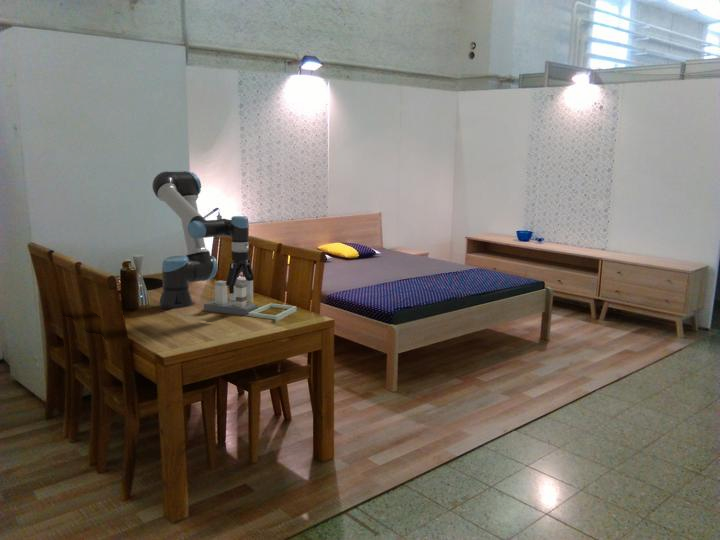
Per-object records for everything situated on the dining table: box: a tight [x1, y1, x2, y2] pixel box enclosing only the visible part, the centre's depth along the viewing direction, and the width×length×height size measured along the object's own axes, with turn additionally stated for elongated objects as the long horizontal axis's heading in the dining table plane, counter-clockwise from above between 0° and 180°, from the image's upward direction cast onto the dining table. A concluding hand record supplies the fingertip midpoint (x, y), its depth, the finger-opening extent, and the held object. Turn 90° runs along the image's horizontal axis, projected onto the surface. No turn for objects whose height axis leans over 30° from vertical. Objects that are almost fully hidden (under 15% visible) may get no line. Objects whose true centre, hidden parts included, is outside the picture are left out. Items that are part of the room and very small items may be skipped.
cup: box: [235, 276, 254, 303], centre depth 298 cm, size 8×8×12 cm
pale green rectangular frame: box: [247, 302, 297, 323], centre depth 276 cm, size 14×20×2 cm
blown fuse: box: [233, 283, 247, 307], centre depth 275 cm, size 4×4×13 cm
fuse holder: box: [203, 299, 258, 317], centre depth 278 cm, size 22×10×4 cm, turn 70°
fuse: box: [214, 280, 228, 305], centre depth 279 cm, size 4×4×13 cm
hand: (240, 297), depth 275 cm, fingers open, 13 cm apart
